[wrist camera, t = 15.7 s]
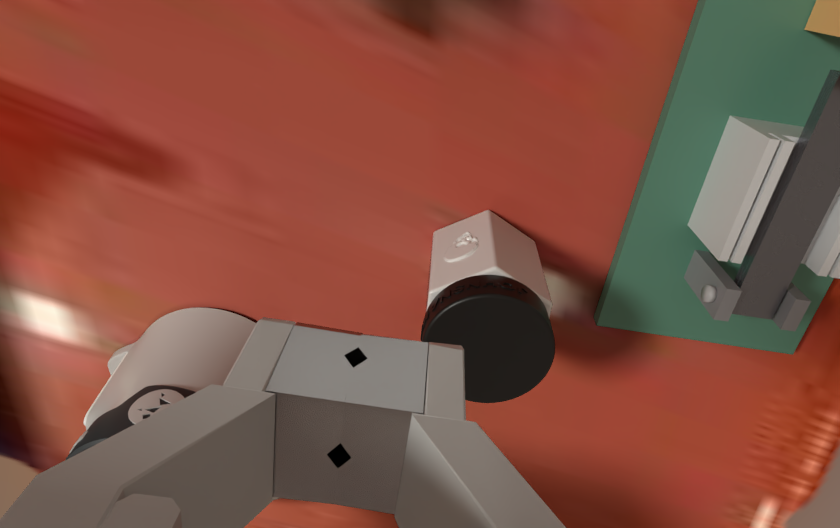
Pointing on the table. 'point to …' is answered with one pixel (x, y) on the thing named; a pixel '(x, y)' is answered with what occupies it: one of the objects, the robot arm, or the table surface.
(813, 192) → the dark grey flat bar
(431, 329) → the jar
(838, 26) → the tan wooden block
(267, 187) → the table surface
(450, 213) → the table surface
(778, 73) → the board
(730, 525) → the table surface
